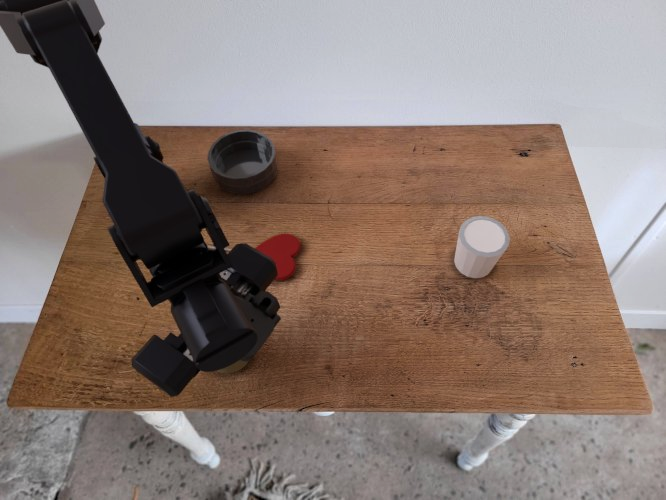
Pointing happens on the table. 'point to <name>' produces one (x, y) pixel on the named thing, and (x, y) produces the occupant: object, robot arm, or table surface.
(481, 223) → the white cylinder
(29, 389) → the table surface
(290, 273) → the lollipop
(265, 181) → the bowl
